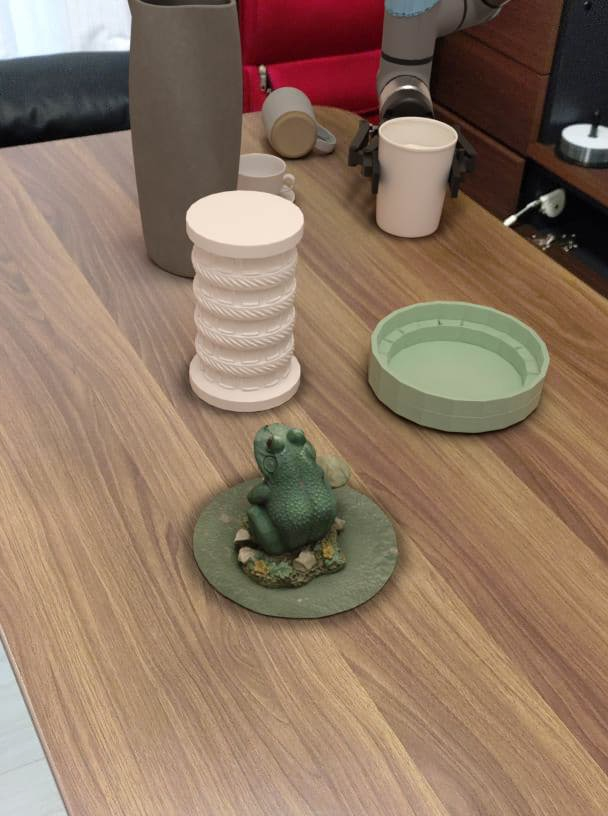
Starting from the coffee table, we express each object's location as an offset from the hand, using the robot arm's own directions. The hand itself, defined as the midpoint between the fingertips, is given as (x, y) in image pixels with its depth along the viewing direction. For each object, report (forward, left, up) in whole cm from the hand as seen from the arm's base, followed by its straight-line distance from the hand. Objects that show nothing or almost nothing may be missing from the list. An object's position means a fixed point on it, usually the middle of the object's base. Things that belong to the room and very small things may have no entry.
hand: (415, 185), depth 121 cm
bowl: (-3, +32, -7) cm, 32 cm away
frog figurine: (+13, +57, -7) cm, 58 cm away
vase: (+27, +9, -7) cm, 29 cm away
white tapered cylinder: (0, -4, -7) cm, 9 cm away
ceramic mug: (+15, -26, -7) cm, 31 cm away
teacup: (+20, -9, -7) cm, 23 cm away
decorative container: (+19, +33, -7) cm, 38 cm away
